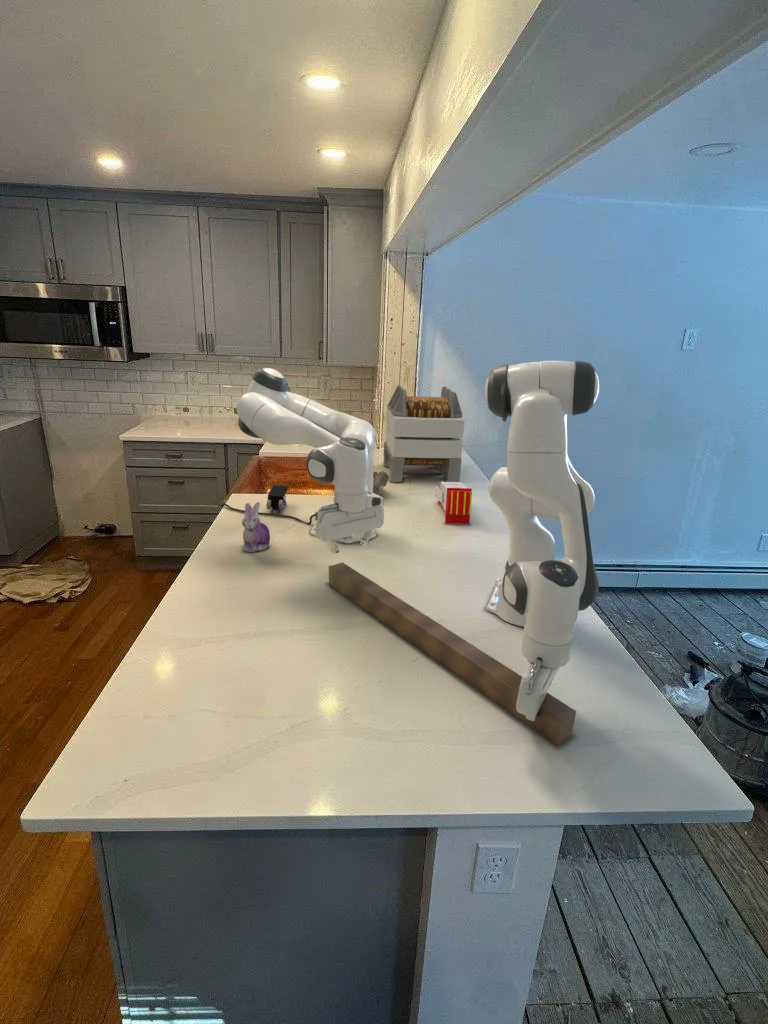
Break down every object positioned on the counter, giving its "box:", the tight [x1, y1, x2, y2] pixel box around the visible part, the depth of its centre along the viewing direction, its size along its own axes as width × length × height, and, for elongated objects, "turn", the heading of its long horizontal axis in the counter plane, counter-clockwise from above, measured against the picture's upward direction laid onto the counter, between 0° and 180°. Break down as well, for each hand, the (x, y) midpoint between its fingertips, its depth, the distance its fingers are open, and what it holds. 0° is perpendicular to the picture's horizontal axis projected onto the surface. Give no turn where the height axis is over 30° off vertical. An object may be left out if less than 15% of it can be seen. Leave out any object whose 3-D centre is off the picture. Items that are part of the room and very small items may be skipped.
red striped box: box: [434, 481, 473, 525], centre depth 222 cm, size 12×13×30 cm
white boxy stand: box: [383, 384, 465, 483], centre depth 268 cm, size 34×33×41 cm
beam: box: [328, 562, 577, 746], centre depth 134 cm, size 78×5×6 cm, turn 38°
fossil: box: [373, 470, 389, 497], centre depth 237 cm, size 22×10×15 cm
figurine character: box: [266, 484, 289, 514], centre depth 218 cm, size 7×8×15 cm
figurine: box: [241, 501, 271, 553], centre depth 181 cm, size 9×10×15 cm
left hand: (349, 548), depth 154 cm, fingers open, 8 cm apart
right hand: (536, 707), depth 110 cm, fingers closed on beam, 6 cm apart
